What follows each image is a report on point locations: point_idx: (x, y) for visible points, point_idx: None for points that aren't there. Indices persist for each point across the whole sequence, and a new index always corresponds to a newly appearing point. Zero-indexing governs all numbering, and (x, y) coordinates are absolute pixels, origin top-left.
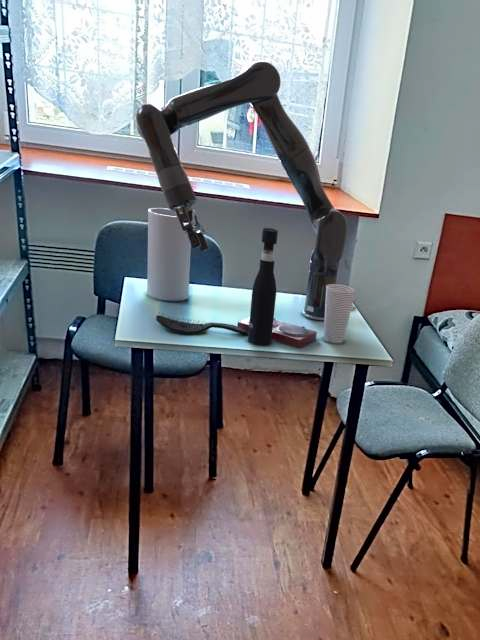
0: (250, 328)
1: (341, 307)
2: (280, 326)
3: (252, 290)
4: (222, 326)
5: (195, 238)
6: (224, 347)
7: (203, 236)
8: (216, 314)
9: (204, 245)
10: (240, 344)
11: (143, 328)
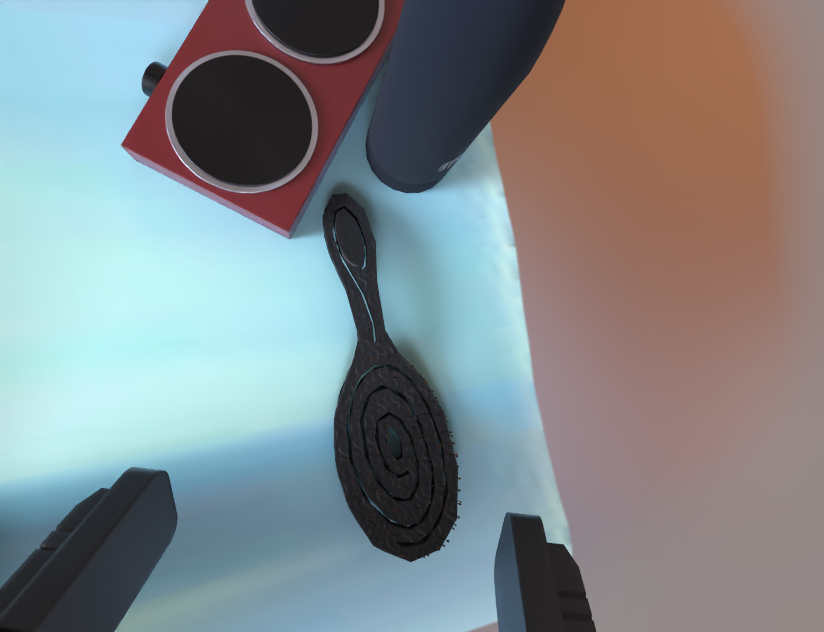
0: (447, 168)
1: None
2: (297, 45)
3: (493, 93)
4: (377, 290)
5: (589, 614)
6: (514, 269)
7: (49, 611)
8: (99, 348)
9: (139, 524)
10: (462, 218)
11: (438, 574)
